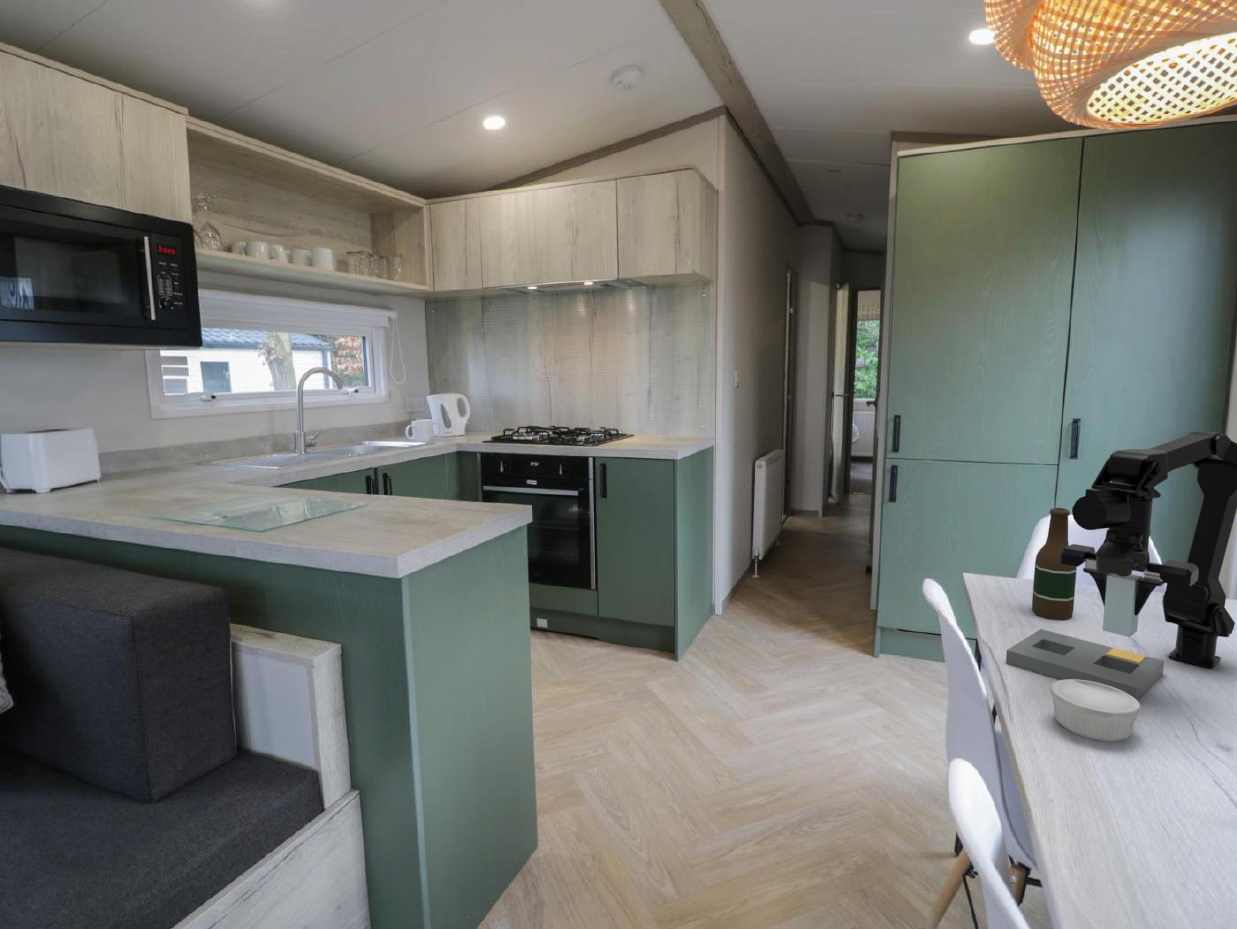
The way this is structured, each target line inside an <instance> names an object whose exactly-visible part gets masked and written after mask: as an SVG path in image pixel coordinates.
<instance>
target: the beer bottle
mask: <svg viewBox="0 0 1237 929" xmlns="http://www.w3.org/2000/svg"><path fill="white" fill-rule="evenodd" d="M1049 514H1050V518H1049V523H1048V524H1049V526H1048V531H1047V537H1046V542H1045V543H1044V544H1043V545H1042V547H1041V548H1040V549H1039V550H1038V552H1037V554H1036V556H1035V561H1034V572H1033V573H1034V574H1033V586H1032V587H1033V588H1032V598H1031V609H1032V612H1033V613H1034V615H1036V616H1038V617H1040V618H1044V619H1047V620H1050V621H1051V620H1053V621H1066V620H1070V619H1072V617H1073V614H1074V605H1075V604H1074V603H1075V595H1076V594H1075V592H1076V582H1077V570H1078V569H1077V566H1071V565H1066V564H1061V563H1059V557H1060V552H1061V550H1062V549H1064V548H1066V547H1068V546H1070V543H1069V516H1070V515H1071V513H1070V510H1069V509H1066V508H1065V507H1063V508H1062V507H1053V508H1050V510H1049Z"/></svg>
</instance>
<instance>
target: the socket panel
mask: <svg viewBox="0 0 1237 929" xmlns="http://www.w3.org/2000/svg"><path fill="white" fill-rule="evenodd" d="M1005 656H1006V657H1005V658H1006V659H1005V663H1006V664H1008V665H1012V666H1015V667H1018V668H1021V669H1025V670H1029V671H1032V672H1035V673H1038V674H1041V675H1045V676H1048V677H1052V678H1054V679H1057V680H1066V679H1078V680H1087V681H1092V682H1097V683H1101V684H1105V685H1108V686H1111V687H1114V688H1116V689H1119V690H1121V691H1123V692H1125V693H1127V694H1129V695H1131V696H1132V697H1134V698H1135V699H1136V700H1137V701H1138V700H1139V699H1141V697H1142V696H1144V694H1146V692H1147V691H1148V690H1149V689H1150V688H1151V687H1152V686H1153V685H1154V684H1155V683H1156V682H1157V681H1158V680H1159V679H1160V678H1161V677H1162V676H1163V675H1164V669H1165V668H1164V666H1165V660H1163V659H1157V658H1155V657H1150V656H1148V655H1147V656H1146V655H1143V654H1138V653H1134V652H1131V651H1128V650H1124V649H1119V648H1116V647H1112V646H1108V645H1104V644H1100V643H1096V642H1093V641H1089V640H1084V639H1081V638H1077V637H1073V636H1068V635H1065V634H1063V633H1062V634H1061V633H1058V632H1055V631H1050V630H1046V629H1043V628H1040V629H1038V630H1037V631H1035V632H1033V633H1032V634H1030V635H1029V636H1027V637H1026V638H1024V639H1023V640H1020V641H1018V642H1017V643H1016V644H1014V645H1013V646H1011V647H1009V648H1008V649H1007V650H1006V655H1005Z"/></svg>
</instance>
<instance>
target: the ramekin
mask: <svg viewBox="0 0 1237 929" xmlns="http://www.w3.org/2000/svg"><path fill="white" fill-rule="evenodd" d="M1050 694H1051V697H1052V702H1053V712H1054V713H1053V714H1054V717H1055V719H1056V720H1057V722H1058V723H1059V724H1060V725H1061V726H1062V727H1063V728H1064V729H1065V730H1068V731H1070V732H1072V733H1073V734H1076V735H1078V736H1081V737H1084V738H1087V739H1090V740H1094V741H1101V742H1108V743H1109V742H1114V743H1115V742H1121V741H1123V740H1125V739H1127V738H1128V737H1129V736H1130V735H1131V734H1132V731H1133V728H1134V725H1135V722H1136V719H1137V717H1138V716H1139V714H1140V711H1141V704H1140V702H1139V701H1138V700H1136V699H1135V698H1134V697H1132V696H1131V695H1129V694H1127V693H1125V692H1123V691H1121V690H1119V689H1116V688H1114V687H1111V686H1108V685H1105V684H1101V683H1097V682H1092V681H1087V680H1078V679H1066V680H1061V679H1059V680H1057V681H1054V683H1052V685H1051V690H1050Z"/></svg>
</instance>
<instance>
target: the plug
mask: <svg viewBox="0 0 1237 929" xmlns="http://www.w3.org/2000/svg"><path fill="white" fill-rule="evenodd" d="M1141 578H1143V576H1142V575H1139V574H1138V575H1137V574H1133V573H1131V575H1129V576H1119V575H1117V574H1112V573H1111V574H1109V575H1107V584H1106V595H1105V607H1104V606H1103V607H1104V609H1103V620H1102V631H1103V632H1106V633H1111V634H1115V635H1120V636H1124V637H1128V638H1131V637H1132V636H1133V635H1134V634H1136V633H1137V632H1138V623H1139V614H1140V613H1139V614H1138V615H1134V613H1135V603H1136V599H1137V594H1138V590H1139V580H1140V579H1141Z"/></svg>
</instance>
